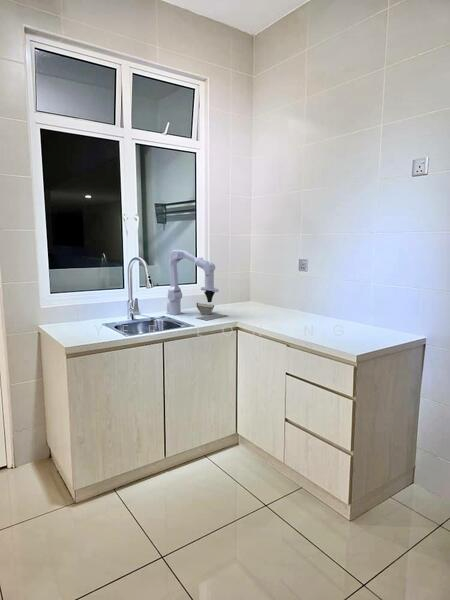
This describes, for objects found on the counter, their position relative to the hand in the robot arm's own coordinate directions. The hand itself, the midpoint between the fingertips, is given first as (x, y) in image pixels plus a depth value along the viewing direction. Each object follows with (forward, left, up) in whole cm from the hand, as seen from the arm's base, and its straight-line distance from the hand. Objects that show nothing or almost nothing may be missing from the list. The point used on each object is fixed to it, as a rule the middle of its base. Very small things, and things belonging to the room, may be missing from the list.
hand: (209, 302), depth 257 cm
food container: (-6, +2, -8) cm, 10 cm away
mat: (+3, 0, -10) cm, 10 cm away
